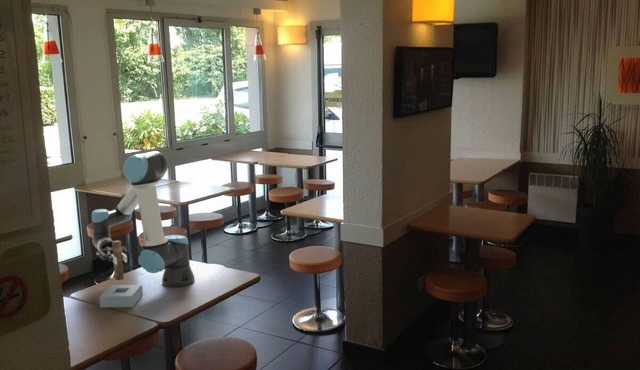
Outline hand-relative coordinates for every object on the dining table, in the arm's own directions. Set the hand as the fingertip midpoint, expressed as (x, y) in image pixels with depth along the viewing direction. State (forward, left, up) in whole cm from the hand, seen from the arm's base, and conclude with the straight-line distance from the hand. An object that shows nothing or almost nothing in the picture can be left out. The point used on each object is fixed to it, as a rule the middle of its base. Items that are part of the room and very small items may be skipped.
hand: (121, 260), depth 248 cm
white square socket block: (+3, -4, -20) cm, 21 cm away
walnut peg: (+3, -5, -10) cm, 11 cm away
